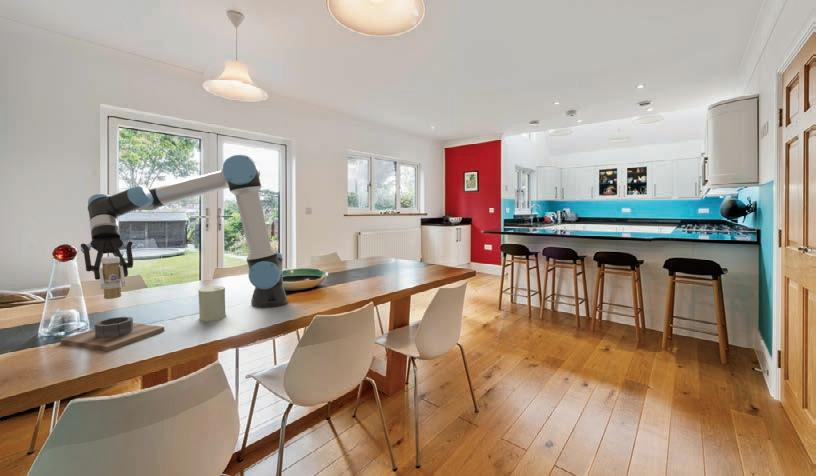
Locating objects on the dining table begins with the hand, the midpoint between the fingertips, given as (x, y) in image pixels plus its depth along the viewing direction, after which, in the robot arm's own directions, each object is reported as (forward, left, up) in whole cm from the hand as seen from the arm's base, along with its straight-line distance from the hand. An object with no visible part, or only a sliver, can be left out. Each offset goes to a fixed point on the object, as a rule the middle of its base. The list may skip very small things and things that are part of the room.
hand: (113, 285), depth 110 cm
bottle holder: (+3, -2, -18) cm, 19 cm away
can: (-11, -28, -18) cm, 35 cm away
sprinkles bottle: (+3, -2, -5) cm, 6 cm away
